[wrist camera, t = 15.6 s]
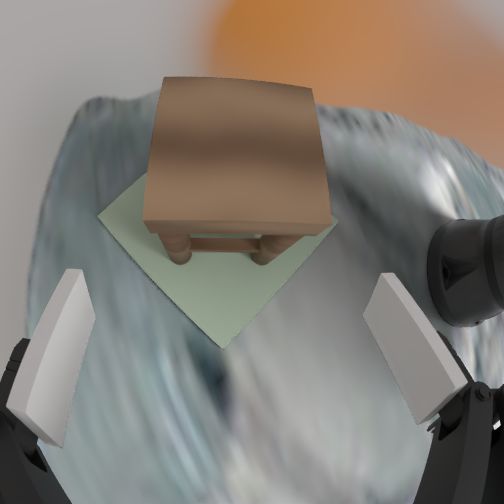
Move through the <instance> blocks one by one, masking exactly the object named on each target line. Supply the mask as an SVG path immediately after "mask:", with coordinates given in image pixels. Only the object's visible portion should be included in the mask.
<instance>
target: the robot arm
mask: <svg viewBox="0 0 504 504" xmlns="http://www.w3.org/2000/svg"><path fill="white" fill-rule="evenodd" d="M428 281H429V287H430V291H431V295H432V298H433V301H434V303H435V306H436V308H437V310H438V311H439V313H440V314H441V316H442V317H443V318H444V319H445V320H446V321H447V322H448V323H449V324H451V325H453V326H455V327H473V326H476V325H479V324H480V323H482V322H483V321H485V320H486V319H489V318H491V317H494V316H496V315H497V314H499V313H501V312H503V311H504V214H503V215H501V216H499V217H496V218H494V219H491V220H465V219H458V220H454V221H452V222H450V223H447V224H445V225H443V226H442V227H440V228H439V229H438V230H437V232H436V233H435V235H434V237H433V239H432V241H431V244H430V248H429V253H428ZM363 318H364V320H365V321H366V323H367V325H368V327H369V329H370V331H371V333H372V334H373V336H374V338H375V340H376V342H377V344H378V346H379V348H380V350H381V352H382V354H383V355H384V357H385V359H386V361H387V363H388V365H389V367H390V369H391V371H392V373H393V375H394V377H395V379H396V381H397V383H398V386H399V388H400V390H401V392H402V394H403V396H404V398H405V400H406V402H407V404H408V407H409V409H410V411H411V413H412V415H413V417H414V420H415V422H416V424H417V425H418V424H421V423H423V422H426V421H428V420H430V419H431V418H433V417H434V416H435V415H436V414H437V413H439V415H440V417H439V418H438V419H437V420H436V421H435V422H433V423H432V424H431V425H430V426H429V427H428V429H427V431H428V432H429V431H430V430H431V429H432V428H433V427H435V429H434V430H433V431H432V432H431V433H434V435H433V439H432V444H431V448H430V452H429V455H428V459H427V463H426V466H425V470H424V473H423V476H422V479H421V482H420V486H419V488H418V491H417V494H416V497H415V500H414V503H413V504H504V384H503V385H502V386H501V387H500V388H499V389H490V388H489V387H488V386H487V385H486V384H485V383H483V382H479V381H478V382H474V380H473V379H472V377H471V375H470V374H469V372H468V370H467V369H466V367H465V366H464V364H463V362H462V361H461V359H460V358H459V356H457V353H456V351H455V350H454V349H452V345H451V344H450V342H449V341H448V339H447V338H446V337H445V336H444V335H443V334H441V333H440V332H439V331H435V329H434V328H433V326H432V325H431V323H430V322H429V320H428V319H427V317H426V316H425V315H424V313H423V312H422V310H421V309H420V308H419V306H418V305H417V303H416V302H415V301H414V299H413V298H412V297H411V295H410V294H409V293H408V291H407V290H406V288H405V287H404V286H403V285H402V283H401V282H400V281H399V279H398V278H397V277H396V275H395V274H394V273H381V274H380V277H379V279H378V282H377V284H376V286H375V289H374V291H373V293H372V296H371V298H370V300H369V303H368V305H367V307H366V309H365V311H364V314H363ZM95 319H96V316H95V313H94V309H93V306H92V303H91V300H90V296H89V293H88V289H87V286H86V282H85V278H84V275H83V271H82V269H66V271H65V273H64V275H63V276H62V278H61V280H60V282H59V284H58V285H57V287H56V289H55V291H54V293H53V295H52V297H51V299H50V300H49V302H48V304H47V306H46V308H45V310H44V312H43V314H42V316H41V319H40V321H39V323H38V325H37V327H36V329H35V331H34V334H33V336H32V338H31V339H25V338H23V339H22V340H21V341H20V342H19V343H18V344H17V345H16V346H15V347H14V350H13V352H12V354H11V357H10V361H9V362H8V364H7V366H6V370H5V371H4V374H3V376H2V379H1V382H0V504H72V503H71V501H70V500H69V498H68V497H67V495H66V493H65V492H64V490H63V489H62V487H61V485H60V484H59V482H58V480H57V479H56V477H55V475H54V474H53V472H52V470H51V468H50V466H49V465H48V463H47V461H46V459H45V457H44V455H43V453H42V451H41V449H40V447H39V446H38V445H37V440H38V438H40V439H41V440H42V441H43V442H44V443H46V444H49V445H53V446H56V447H60V448H63V445H64V439H65V433H66V428H67V423H68V418H69V413H70V408H71V404H72V399H73V395H74V391H75V387H76V383H77V379H78V375H79V371H80V368H81V364H82V361H83V357H84V354H85V350H86V347H87V344H88V340H89V337H90V334H91V331H92V328H93V325H94V322H95ZM499 420H500V423H501V426H500V427H498V428H497V429H496V430H494V428H493V425H494V424H496V423H497V422H498V421H499Z"/></svg>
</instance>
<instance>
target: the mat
mask: <svg viewBox="0 0 504 504" xmlns="http://www.w3.org/2000/svg"><path fill="white" fill-rule="evenodd" d="M146 179H147V172H146V173H145V174H144V175H142V176H141V177H140V178H139V179H138V180H136V181H135V182H134V183H133V184H132V185H131V186H130V187H128V188H127V189H126V190H125V191H124V192H123V193H122V194H121V195H119V196H118V197H117V198H116V199H115V200H114V201H113V202H112V203H111V204H110V205H109V206H108V207H107V208H105V209H104V210H103V211H102V212H101V213H100V214H99V215H98V216H97V217H98V218H99V219H100V221H101V222H102V223H103V224H104V225H105V227H106V228H107V229H108V230H109V231H110V233H111V234H112V235H113V236H114V237H115V238H116V240H117V241H118V242H119V243H120V244H121V245H122V247H123V248H124V249H125V250H126V251H127V252H128V253H129V255H130V256H131V257H132V258H133V259H134V260H135V261H136V262H137V264H138V265H139V266H140V267H141V268H142V269H143V270H144V271H145V272H146V273H147V274H148V276H149V277H150V278H151V279H152V280H153V281H154V282H155V283H156V284H157V285H158V286H159V287H160V288H161V289H162V290H163V291H164V292H165V294H166V295H167V296H168V297H169V298H170V299H171V300H172V301H173V302H174V303H175V304H176V305H177V306H178V307H179V308H180V309H181V310H182V311H183V312H184V313H185V314H186V315H187V316H188V317H189V318H190V319H191V320H192V321H193V322H194V323H195V324H196V325H197V326H198V327H199V328H200V329H202V330H203V331H204V332H205V333H206V334H207V335H208V336H209V337H210V338H211V339H212V340H213V341H214V342H215V343H216V344H217V345H218V346H220V347H221V348H222V349H224V348H225V346H226V345H227V344H228V343H229V342H230V341H231V340H232V339H233V338H234V337H235V336H236V335H237V334H238V333H239V332H240V331H241V330H242V329H243V328H244V327H245V326H246V325H247V324H248V322H249V321H250V320H251V319H252V318H253V317H254V316H255V315H256V314H257V313H258V312H259V311H260V310H261V309H262V308H263V306H264V305H265V304H266V303H267V302H268V301H269V300H270V299H271V298H272V297H273V296H274V294H275V293H276V292H277V291H278V290H279V289H280V288H281V287H282V286H283V285H284V284H285V282H286V281H287V280H288V279H289V278H290V277H291V276H292V275H293V274H294V272H295V271H296V270H297V269H298V268H299V267H300V266H301V265H302V263H303V262H304V261H305V260H306V259H307V258H308V257H309V256H310V254H311V253H312V252H313V251H314V250H315V249H316V248H317V246H318V245H319V244H320V243H321V242H322V241H323V239H324V238H325V237H326V236H327V235H328V234H329V233H330V231H331V230H332V229H333V228H334V227H335V226H336V224H337V223H338V222H339V220H338V219H337V218H336V217H335V216H334V215H333V214H332V213H331V214H332V225H331V226H330V227H328V228H327V229H325V230H324V231H322V232H321V233H320V234H318V235H317V236H304V237H302V238H301V239H300V240H298V241H297V242H296V243H295V244H293V245H292V246H291V247H289V248H288V249H287V250H285V251H284V252H283V253H281V254H280V255H279V256H277V257H276V258H275V259H273V260H272V261H271V262H269V263H268V264H266V265H258V264H256V263H255V262H253V260H252V259H251V255H250V253H228V252H192V257H191V259H190V260H189V262H187V263H186V264H184V265H177V264H175V263H173V262H172V261H171V259H170V257H169V255H168V254H167V252H166V250H165V248H164V246H163V244H162V242H161V240H160V238H159V235H158V233H150V232H149V231H148V229H147V227H146V225H145V224H144V222H143V220H142V219H143V207H144V197H145V187H146ZM261 236H262V235H249V234H190V238H254V239H260V237H261Z"/></svg>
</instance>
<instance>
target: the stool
mask: <svg viewBox="0 0 504 504" xmlns="http://www.w3.org/2000/svg"><path fill="white" fill-rule="evenodd" d="M142 220H143V222H144V224H145V225H146V227H147V229H148V231H149V232H150V233H158V235H159V238H160V240H161V242H162V244H163V246H164V248H165V250H166V252H167V254H168V255H169V257H170V259H171V261H172V262H173V263H175V264H177V265H184V264H186V263H187V262H189V260H190V259H191V257H192V252H228V253H250V255H251V259H252V260H253V262H255V263H256V264H258V265H266V264H268V263H269V262H271V261H272V260H273V259H275V258H276V257H277V256H279V255H280V254H281V253H283V252H284V251H285V250H287V249H288V248H289V247H291V246H292V245H293V244H295V243H296V242H297V241H298V240H300V239H301V238H302V237H304V236H317V235H318V234H320V233H321V232H322V231H324V230H325V229H327V228H328V227H330V226H331V225H332V214H331V206H330V197H329V189H328V182H327V174H326V167H325V161H324V154H323V148H322V142H321V136H320V130H319V124H318V119H317V113H316V108H315V103H314V98H313V93H312V89H311V88H306V87H300V86H294V85H287V84H279V83H273V82H265V81H255V80H245V79H231V78H214V77H164V79H163V83H162V88H161V93H160V97H159V102H158V107H157V113H156V118H155V124H154V130H153V136H152V142H151V149H150V155H149V163H148V170H147V179H146V187H145V197H144V207H143V219H142ZM190 234H249V235H262V236H261V237H260V239H254V238H190Z"/></svg>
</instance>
